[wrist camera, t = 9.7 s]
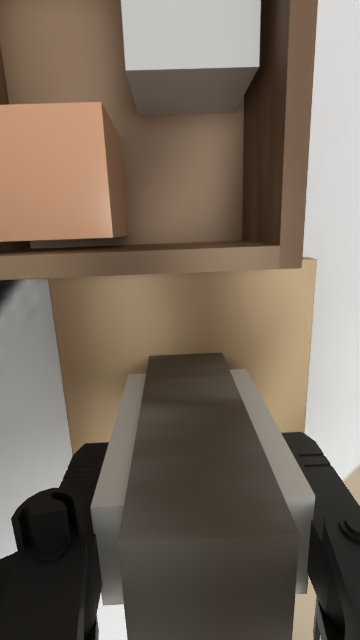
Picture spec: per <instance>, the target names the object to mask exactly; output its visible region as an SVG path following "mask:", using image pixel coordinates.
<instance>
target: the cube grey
mask: <svg viewBox="0 0 360 640" xmlns="http://www.w3.org/2000/svg"><path fill="white" fill-rule="evenodd" d="M121 10H122V25H123V39H124V54H125V69H126V74H127V77H128V81H129V85H130V88H131V92H132V95H133V99H134V102H135V106H136V110H137V113H138V116H144V115H177V114H210V113H234V112H235V111H236V109H237V107H238V105H239V103H240V101H241V100H242V98H243V96H244V94H245V92H246V90H247V88H248V87H249V85H250V83H251V81H252V79H253V77H254V76H255V74H256V72H257V70H258V68H259V57H260V14H261V0H121Z"/></svg>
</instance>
